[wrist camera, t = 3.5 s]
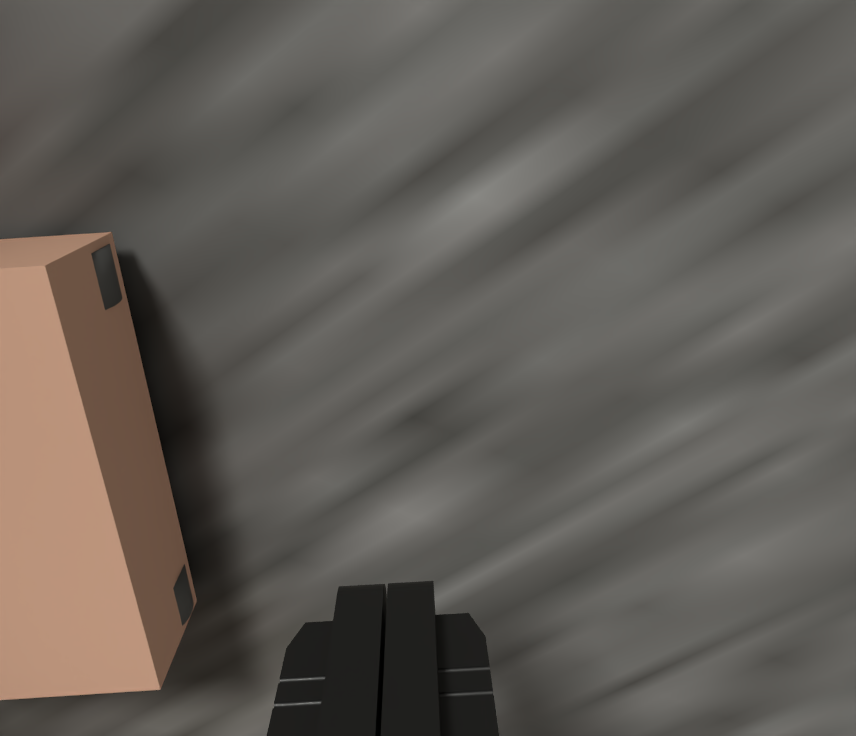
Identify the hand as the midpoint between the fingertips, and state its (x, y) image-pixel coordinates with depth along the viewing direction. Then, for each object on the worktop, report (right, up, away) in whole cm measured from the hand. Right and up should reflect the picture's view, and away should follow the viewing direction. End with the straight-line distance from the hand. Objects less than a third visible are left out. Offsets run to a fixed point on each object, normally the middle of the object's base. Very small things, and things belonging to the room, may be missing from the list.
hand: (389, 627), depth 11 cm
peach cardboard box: (-9, +2, +6) cm, 12 cm away
